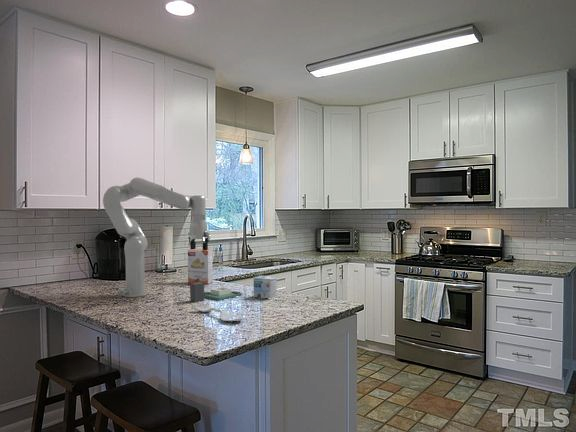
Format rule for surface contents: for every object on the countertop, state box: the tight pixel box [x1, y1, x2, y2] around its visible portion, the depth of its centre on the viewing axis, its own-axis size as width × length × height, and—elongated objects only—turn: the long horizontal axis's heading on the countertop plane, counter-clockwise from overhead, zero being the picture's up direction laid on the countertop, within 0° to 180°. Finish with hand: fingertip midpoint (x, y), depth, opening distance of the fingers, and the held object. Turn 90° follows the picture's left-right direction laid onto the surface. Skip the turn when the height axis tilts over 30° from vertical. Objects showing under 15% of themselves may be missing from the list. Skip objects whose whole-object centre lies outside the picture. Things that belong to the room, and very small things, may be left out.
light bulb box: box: [253, 275, 278, 299], centre depth 228 cm, size 11×7×11 cm, turn 62°
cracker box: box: [187, 248, 213, 285], centre depth 268 cm, size 14×6×21 cm, turn 73°
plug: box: [189, 282, 205, 303], centre depth 220 cm, size 6×4×9 cm, turn 141°
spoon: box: [191, 302, 245, 322], centre depth 190 cm, size 9×32×4 cm, turn 42°
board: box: [204, 286, 243, 301], centre depth 231 cm, size 16×16×4 cm
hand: (199, 249), depth 237 cm, fingers open, 9 cm apart
